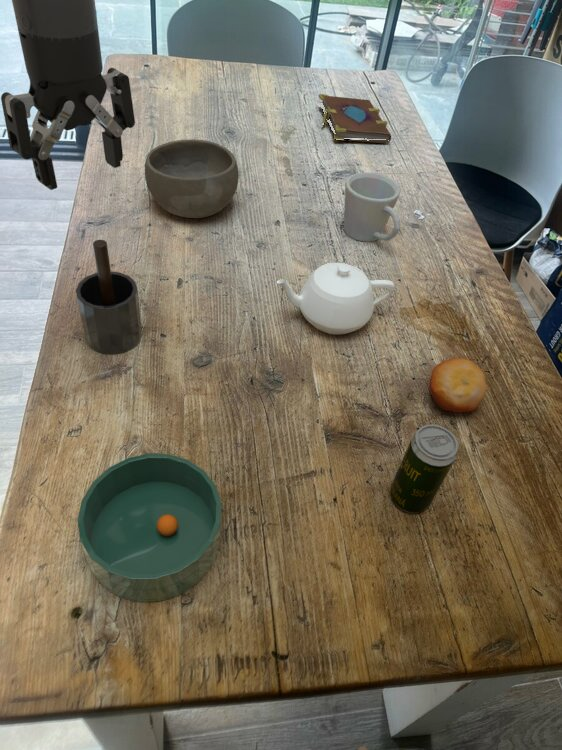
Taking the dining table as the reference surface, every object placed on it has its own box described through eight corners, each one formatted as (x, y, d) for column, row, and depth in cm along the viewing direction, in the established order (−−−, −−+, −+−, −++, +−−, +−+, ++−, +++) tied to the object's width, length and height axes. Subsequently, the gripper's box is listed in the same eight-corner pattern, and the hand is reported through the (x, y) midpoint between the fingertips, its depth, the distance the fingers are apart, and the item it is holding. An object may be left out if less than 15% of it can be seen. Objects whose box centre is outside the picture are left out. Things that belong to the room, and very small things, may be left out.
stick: (108, 336, 88) (93, 247, 76) (106, 328, 89) (91, 240, 78) (120, 334, 89) (107, 246, 77) (118, 326, 90) (105, 238, 78)
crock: (89, 359, 86) (80, 312, 79) (81, 321, 91) (72, 275, 84) (146, 349, 88) (142, 303, 82) (136, 313, 93) (131, 267, 87)
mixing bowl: (96, 621, 61) (88, 598, 56) (78, 498, 70) (70, 471, 66) (236, 578, 65) (238, 554, 61) (201, 469, 75) (201, 441, 70)
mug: (369, 213, 121) (380, 168, 114) (411, 253, 113) (426, 207, 105) (327, 222, 117) (335, 176, 110) (367, 264, 109) (379, 217, 101)
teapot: (278, 345, 92) (285, 294, 84) (266, 294, 100) (271, 245, 92) (397, 338, 95) (414, 290, 88) (376, 290, 104) (389, 242, 96)
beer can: (417, 475, 77) (445, 418, 68) (437, 509, 74) (469, 455, 65) (381, 484, 76) (405, 428, 67) (400, 520, 72) (427, 465, 64)
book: (365, 106, 161) (369, 88, 157) (390, 149, 145) (395, 129, 141) (308, 101, 157) (311, 82, 154) (327, 144, 141) (331, 123, 137)
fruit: (468, 366, 90) (491, 354, 83) (470, 417, 89) (494, 409, 81) (417, 364, 90) (436, 352, 82) (419, 415, 88) (438, 407, 80)
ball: (159, 542, 66) (158, 532, 65) (155, 524, 68) (154, 513, 66) (180, 536, 67) (179, 526, 65) (175, 518, 69) (174, 508, 67)
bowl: (143, 184, 120) (139, 137, 113) (228, 181, 124) (229, 135, 117) (152, 231, 109) (148, 182, 102) (244, 226, 113) (247, 179, 106)
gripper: (97, 0, 62) (114, 147, 74) (-34, 20, 54) (9, 180, 66) (140, 21, 59) (151, 170, 71) (8, 45, 51) (44, 209, 63)
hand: (82, 175), depth 68 cm, fingers open, 8 cm apart
